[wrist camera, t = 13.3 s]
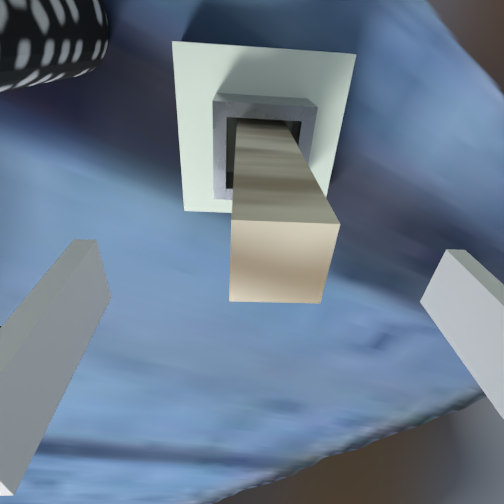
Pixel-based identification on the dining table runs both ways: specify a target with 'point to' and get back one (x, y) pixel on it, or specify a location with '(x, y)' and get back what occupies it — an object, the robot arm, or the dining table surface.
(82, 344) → the robot arm
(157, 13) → the dining table surface
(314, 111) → the cup bracket
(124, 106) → the dining table surface
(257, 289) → the rail post
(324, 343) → the dining table surface
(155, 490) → the dining table surface
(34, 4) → the spotted tube
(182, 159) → the mounting block
